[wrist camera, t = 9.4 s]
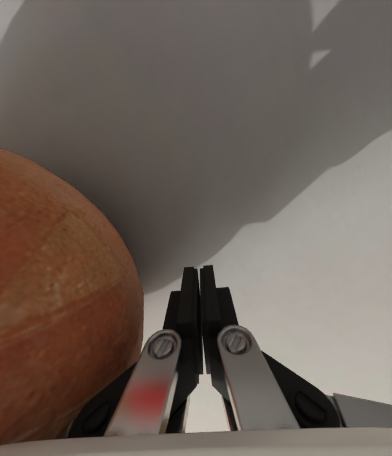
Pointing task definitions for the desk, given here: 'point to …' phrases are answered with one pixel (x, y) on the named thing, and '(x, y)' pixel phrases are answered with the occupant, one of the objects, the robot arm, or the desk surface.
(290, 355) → the desk surface
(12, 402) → the jug
